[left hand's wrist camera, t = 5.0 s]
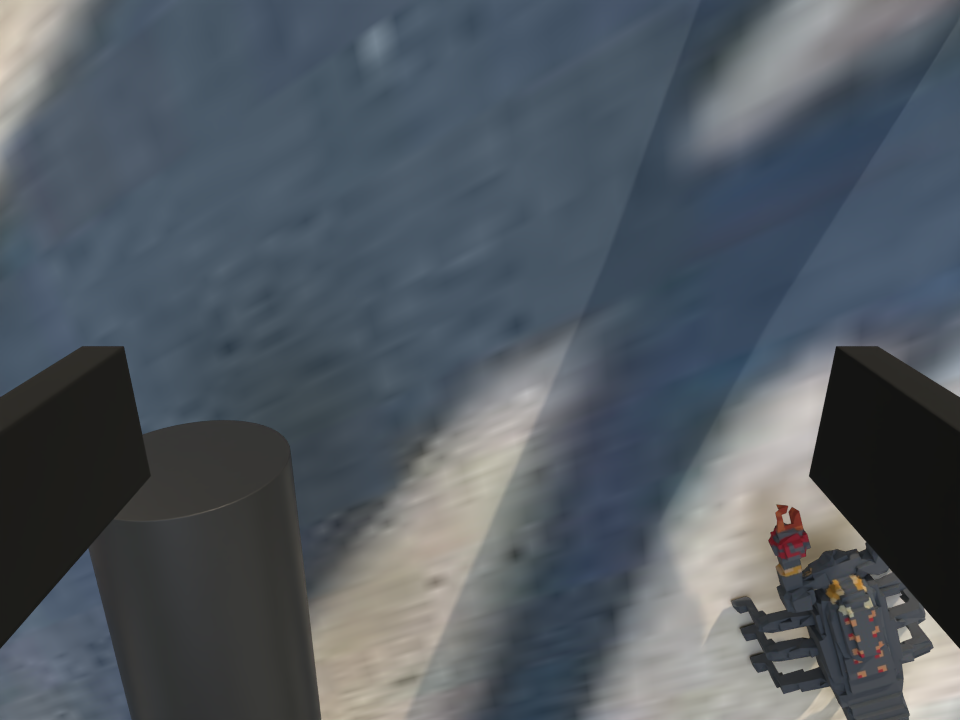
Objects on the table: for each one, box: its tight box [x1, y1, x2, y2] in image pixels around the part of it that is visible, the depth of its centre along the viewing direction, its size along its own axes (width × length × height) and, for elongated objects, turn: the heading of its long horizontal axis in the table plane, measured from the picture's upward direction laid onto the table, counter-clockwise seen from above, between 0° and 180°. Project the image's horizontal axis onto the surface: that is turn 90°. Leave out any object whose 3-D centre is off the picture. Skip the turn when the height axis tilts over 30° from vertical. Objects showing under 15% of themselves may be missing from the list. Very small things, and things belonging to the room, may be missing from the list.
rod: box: [89, 420, 321, 720], centre depth 33 cm, size 26×9×9 cm, turn 0°
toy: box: [731, 505, 933, 720], centre depth 43 cm, size 13×27×18 cm, turn 22°
